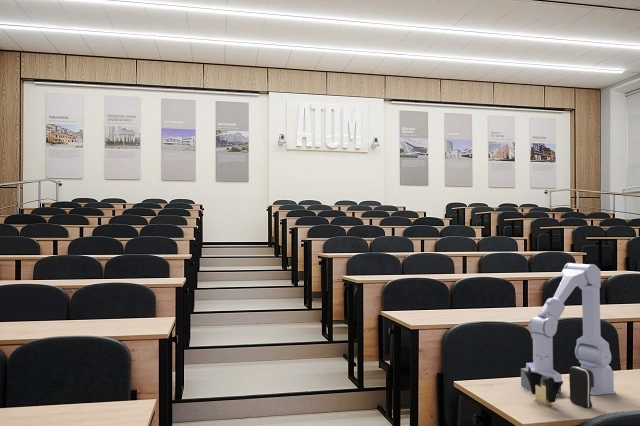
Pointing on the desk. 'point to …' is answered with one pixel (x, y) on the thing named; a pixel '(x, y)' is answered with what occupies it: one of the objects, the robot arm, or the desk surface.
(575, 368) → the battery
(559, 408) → the desk surface
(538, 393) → the beige flat block
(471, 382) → the desk surface
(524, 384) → the coin box
